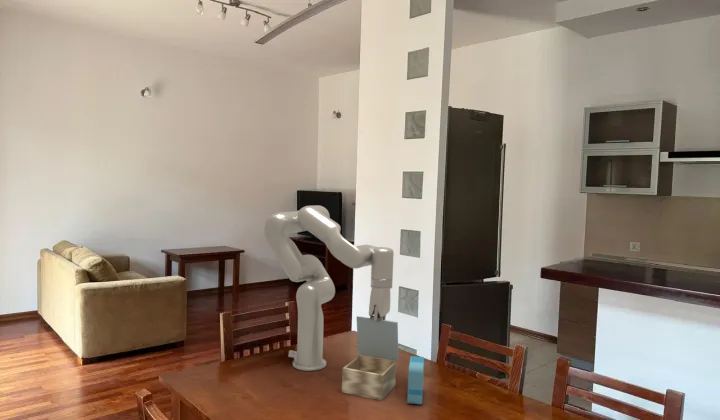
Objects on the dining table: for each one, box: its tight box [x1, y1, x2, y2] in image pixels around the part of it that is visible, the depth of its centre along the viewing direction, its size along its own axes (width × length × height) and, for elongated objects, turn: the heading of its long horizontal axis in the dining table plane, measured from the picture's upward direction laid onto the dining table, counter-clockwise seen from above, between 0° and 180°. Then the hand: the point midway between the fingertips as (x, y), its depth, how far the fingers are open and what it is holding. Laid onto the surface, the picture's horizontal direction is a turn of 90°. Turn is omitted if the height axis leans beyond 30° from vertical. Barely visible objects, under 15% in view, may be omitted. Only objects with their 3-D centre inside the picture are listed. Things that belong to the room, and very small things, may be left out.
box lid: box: [356, 315, 400, 362], centre depth 175 cm, size 15×15×2 cm
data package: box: [407, 356, 425, 405], centre depth 164 cm, size 12×4×12 cm, turn 171°
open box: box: [341, 355, 398, 401], centre depth 170 cm, size 14×14×8 cm
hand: (379, 334), depth 177 cm, fingers closed
